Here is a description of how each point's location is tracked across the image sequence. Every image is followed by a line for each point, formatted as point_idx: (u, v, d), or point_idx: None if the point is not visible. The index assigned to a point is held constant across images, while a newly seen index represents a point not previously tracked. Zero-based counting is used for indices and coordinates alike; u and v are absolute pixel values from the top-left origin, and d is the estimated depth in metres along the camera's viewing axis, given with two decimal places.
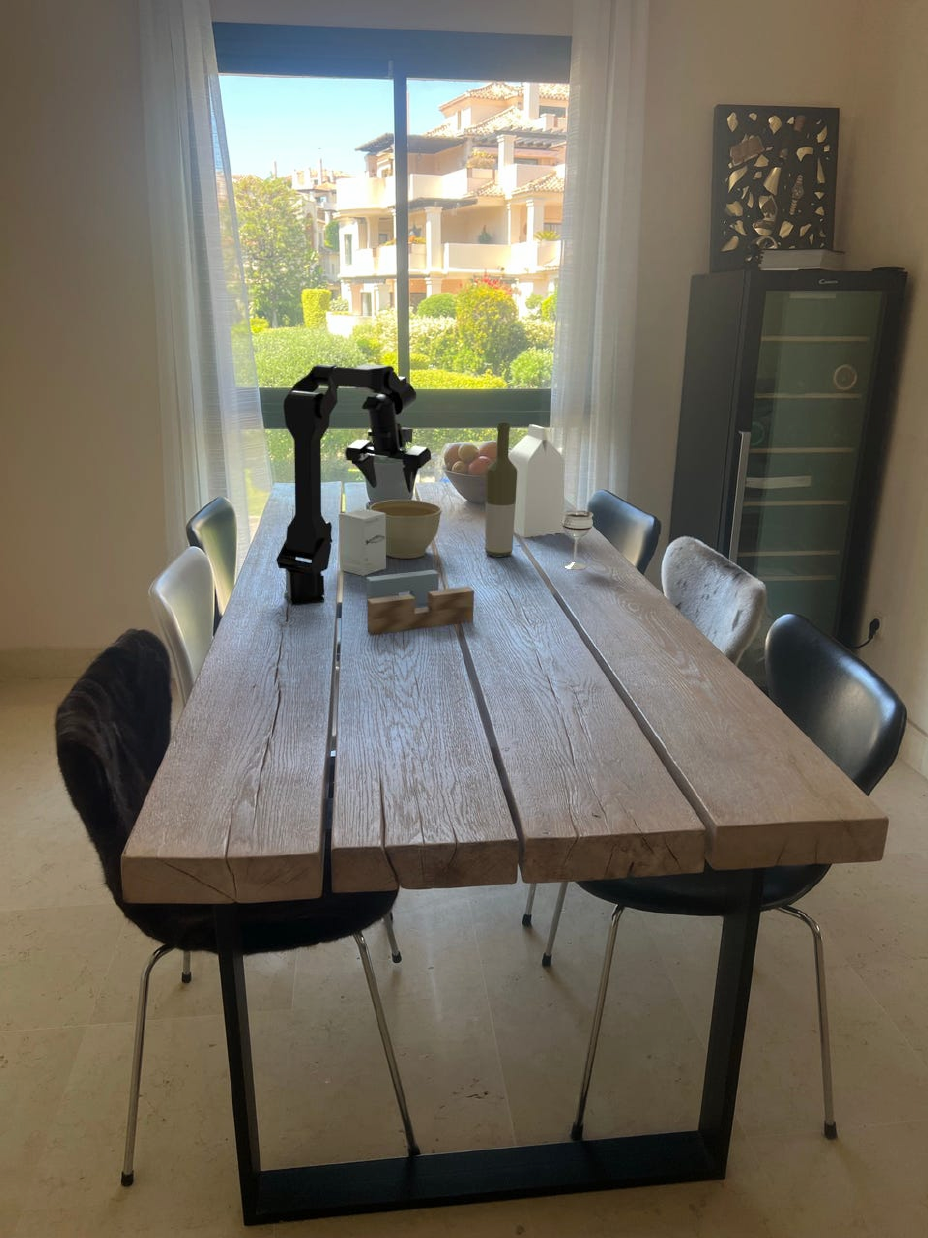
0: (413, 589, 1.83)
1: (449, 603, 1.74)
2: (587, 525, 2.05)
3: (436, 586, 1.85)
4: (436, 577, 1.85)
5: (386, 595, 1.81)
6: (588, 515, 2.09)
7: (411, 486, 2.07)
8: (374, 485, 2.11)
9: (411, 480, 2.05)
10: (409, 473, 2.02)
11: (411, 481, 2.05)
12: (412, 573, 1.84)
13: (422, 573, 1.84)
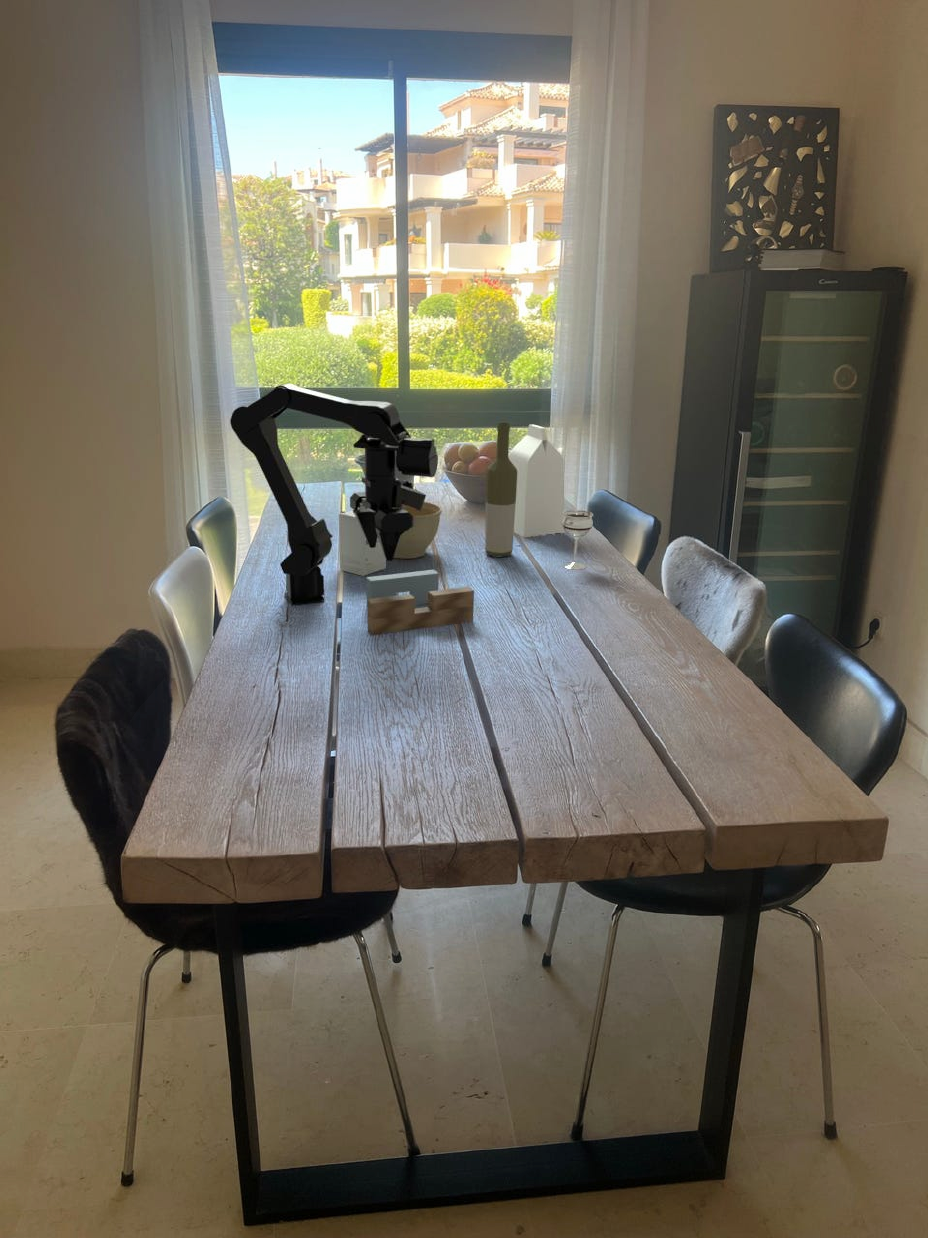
0: (413, 589, 1.83)
1: (449, 603, 1.74)
2: (587, 525, 2.05)
3: (436, 586, 1.85)
4: (436, 577, 1.85)
5: (386, 595, 1.81)
6: (588, 515, 2.09)
7: (387, 553, 1.74)
8: (371, 545, 1.83)
9: (386, 545, 1.73)
10: (379, 534, 1.71)
11: (386, 547, 1.73)
12: (412, 573, 1.84)
13: (422, 573, 1.84)
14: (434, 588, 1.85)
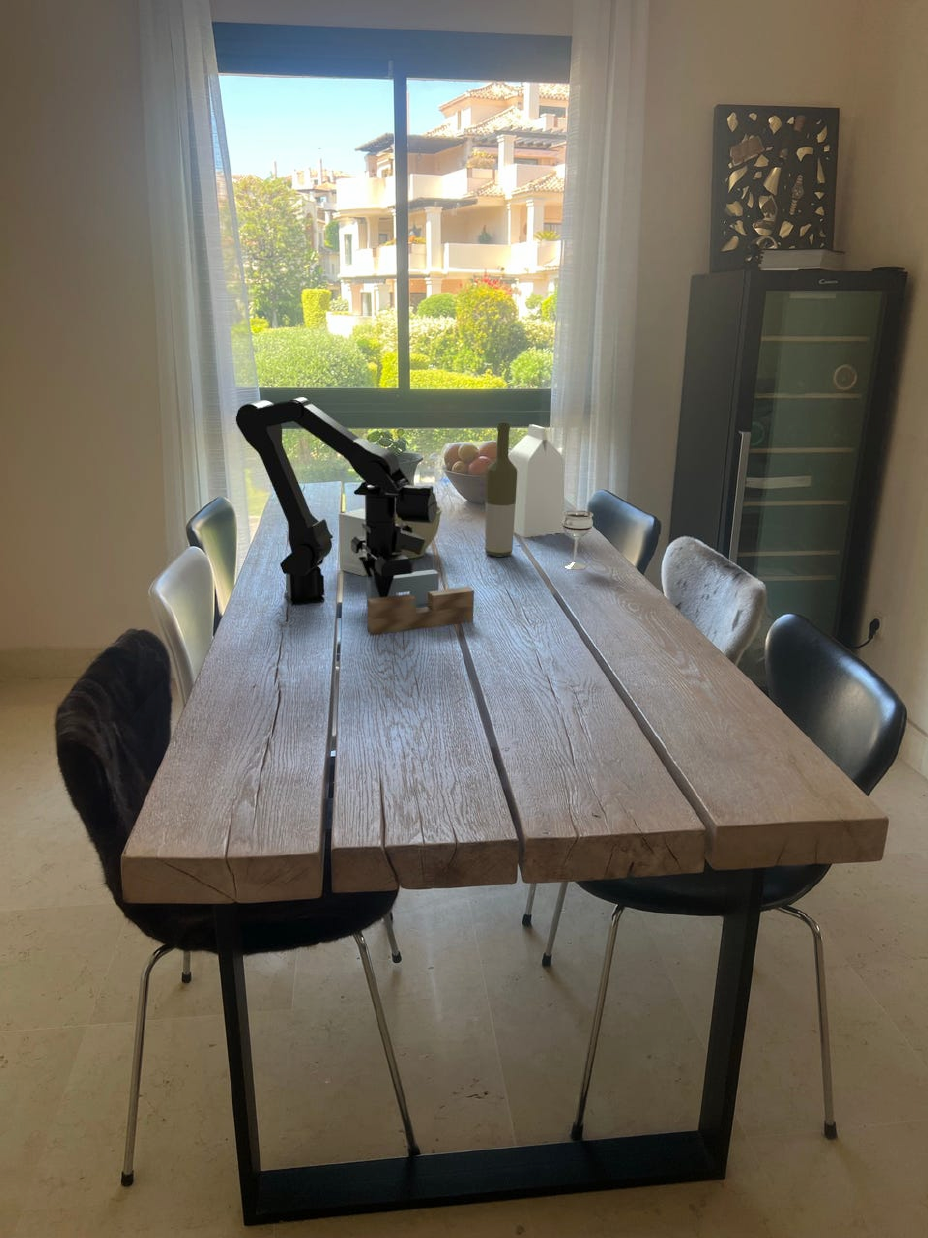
0: (413, 589, 1.83)
1: (449, 603, 1.74)
2: (587, 525, 2.05)
3: (436, 586, 1.85)
4: (436, 577, 1.85)
5: None
6: (588, 515, 2.09)
7: (382, 593, 1.80)
8: None
9: (380, 585, 1.79)
10: (373, 575, 1.76)
11: (380, 586, 1.79)
12: (412, 573, 1.84)
13: (422, 573, 1.84)
14: (434, 588, 1.85)
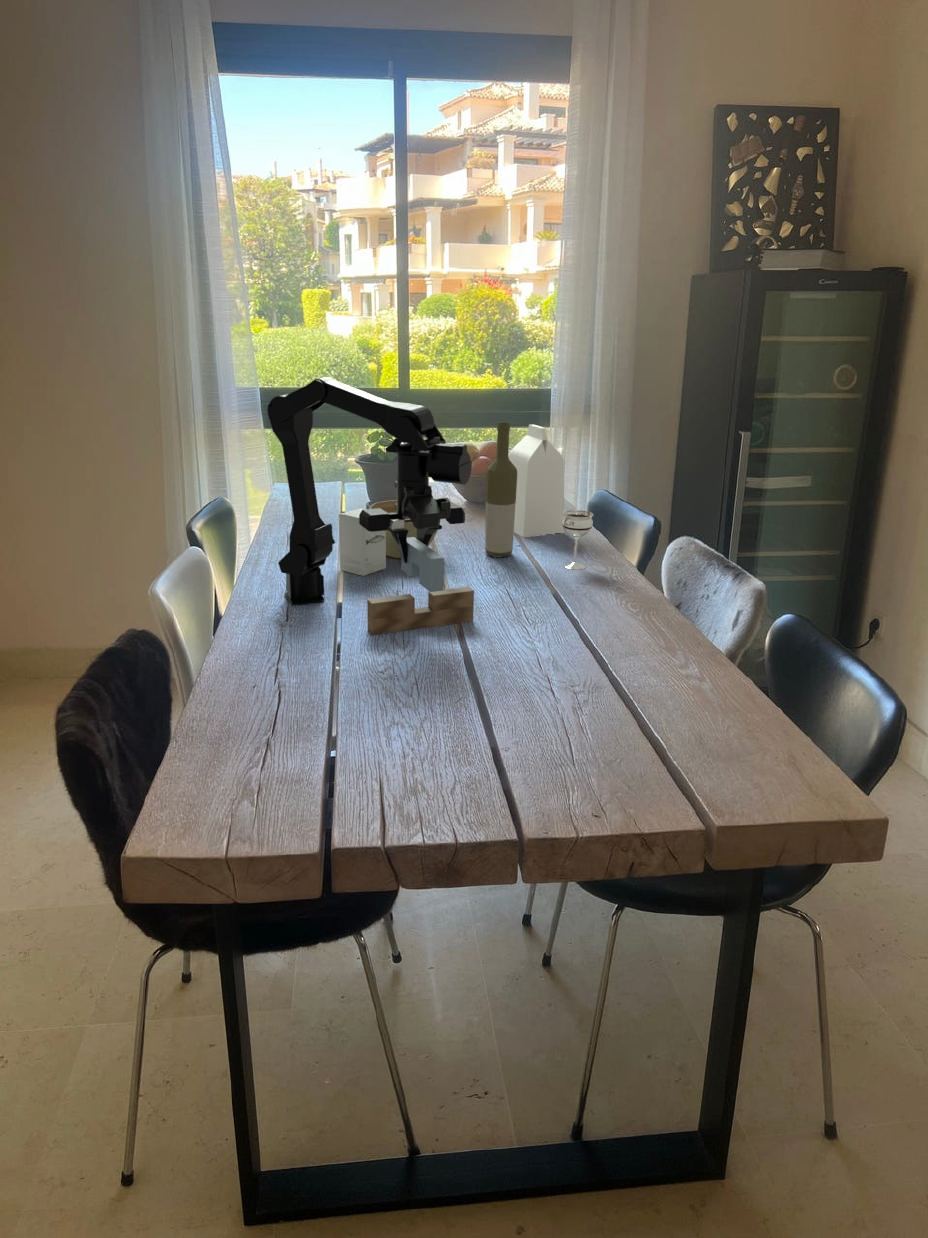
0: (419, 565, 1.68)
1: (449, 603, 1.74)
2: (587, 525, 2.05)
3: (429, 573, 1.64)
4: (429, 563, 1.63)
5: (407, 560, 1.73)
6: (588, 515, 2.09)
7: (400, 553, 1.73)
8: None
9: (397, 544, 1.73)
10: None
11: (397, 545, 1.73)
12: (428, 550, 1.67)
13: (430, 553, 1.66)
14: (428, 574, 1.64)
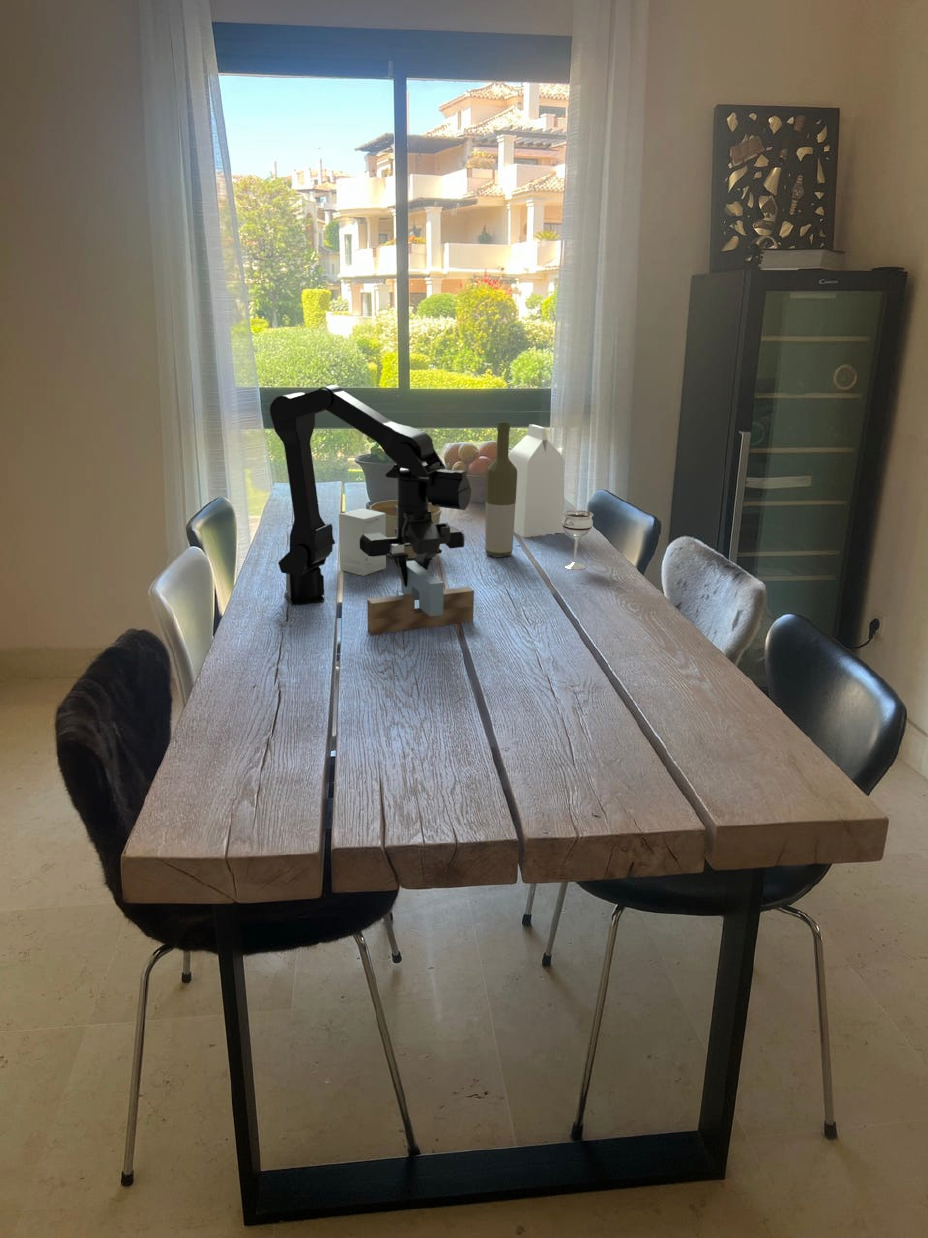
0: (418, 589, 1.70)
1: (449, 603, 1.74)
2: (587, 525, 2.05)
3: (429, 598, 1.65)
4: (429, 588, 1.65)
5: (407, 583, 1.74)
6: (588, 515, 2.09)
7: (400, 577, 1.75)
8: None
9: (397, 567, 1.75)
10: None
11: (397, 569, 1.75)
12: (428, 575, 1.69)
13: (429, 578, 1.67)
14: (428, 599, 1.66)
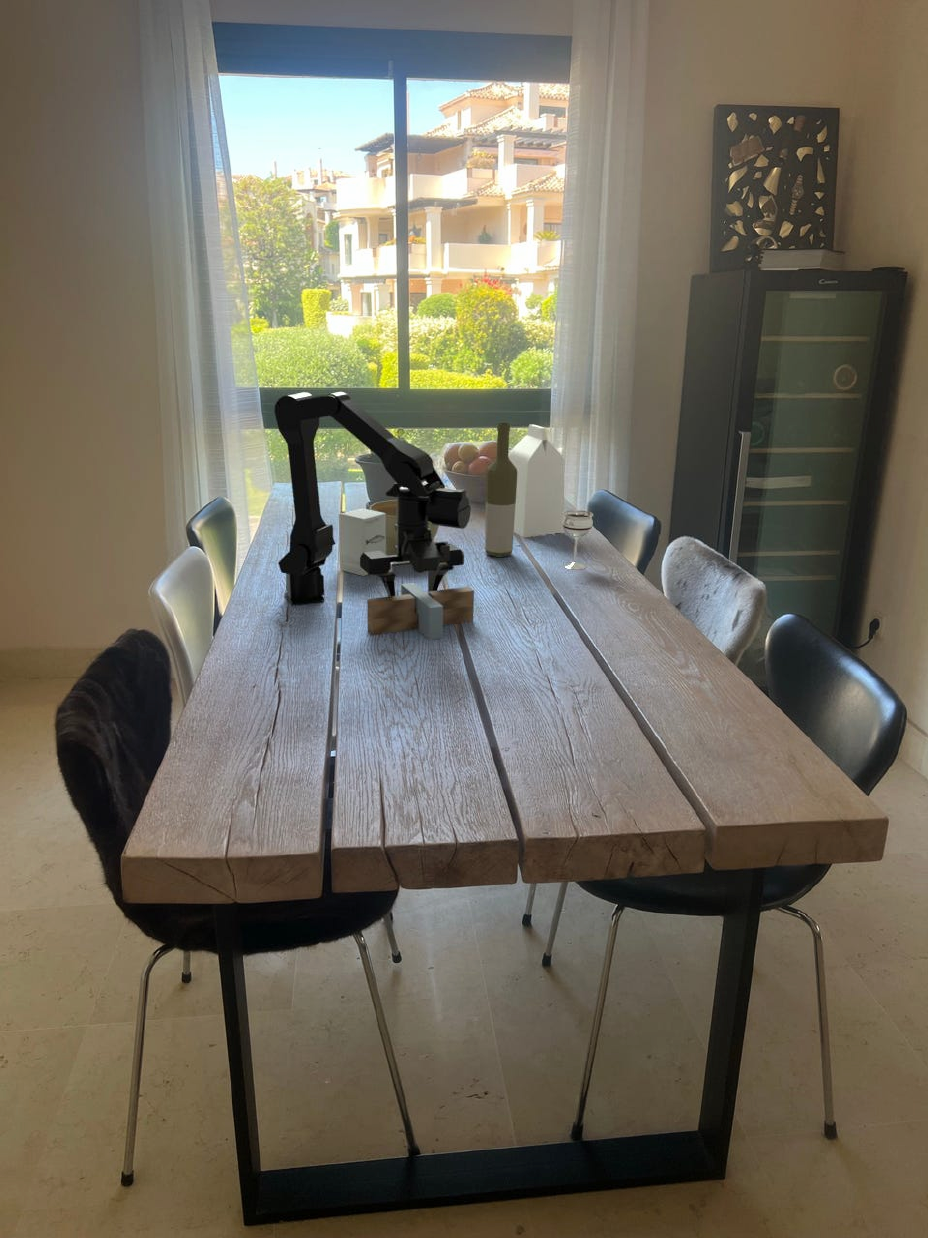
0: (418, 612, 1.71)
1: (449, 603, 1.74)
2: (587, 525, 2.05)
3: (428, 621, 1.67)
4: (428, 611, 1.66)
5: None
6: (588, 515, 2.09)
7: (388, 596, 1.75)
8: None
9: (385, 586, 1.75)
10: None
11: (385, 588, 1.75)
12: (427, 598, 1.70)
13: (429, 601, 1.69)
14: (427, 622, 1.67)
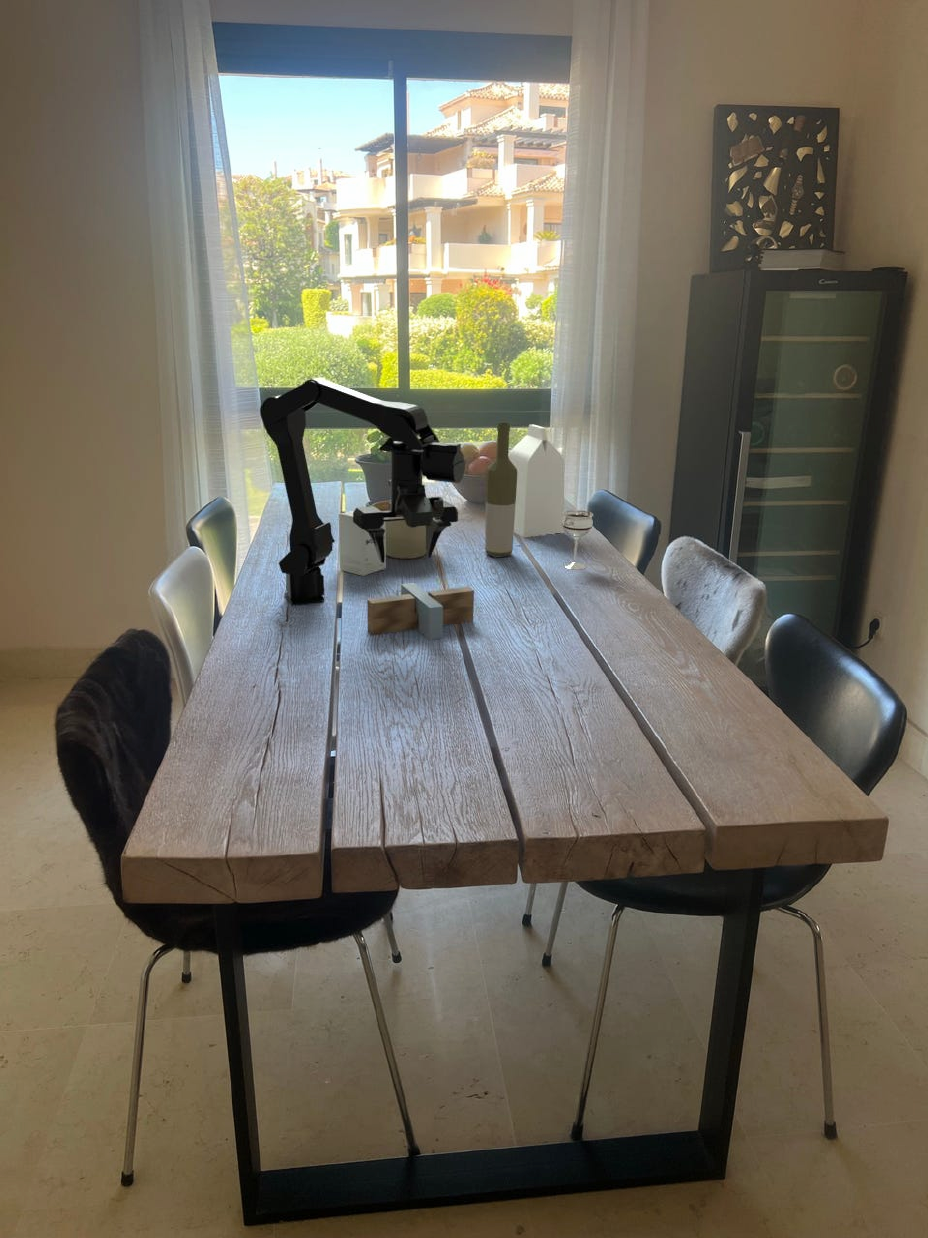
0: (418, 612, 1.71)
1: (449, 603, 1.74)
2: (587, 525, 2.05)
3: (428, 621, 1.67)
4: (428, 611, 1.66)
5: None
6: (588, 515, 2.09)
7: (377, 553, 1.73)
8: (426, 554, 1.77)
9: (374, 543, 1.73)
10: None
11: (374, 545, 1.73)
12: (427, 598, 1.70)
13: (429, 601, 1.69)
14: (427, 622, 1.67)
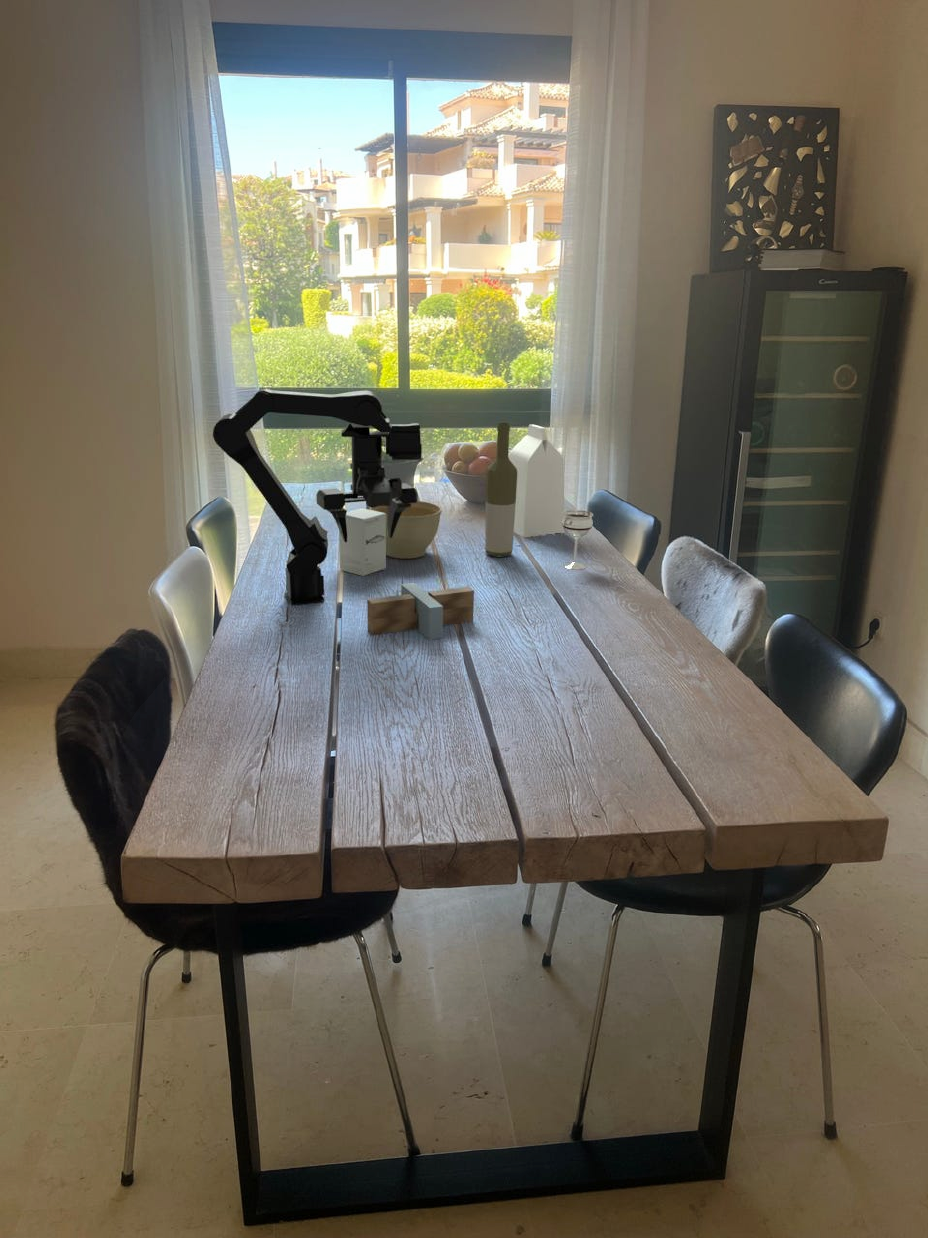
0: (418, 612, 1.71)
1: (449, 603, 1.74)
2: (587, 525, 2.05)
3: (428, 621, 1.67)
4: (428, 611, 1.66)
5: None
6: (588, 515, 2.09)
7: (341, 533, 1.82)
8: (388, 534, 1.86)
9: (337, 524, 1.81)
10: None
11: (338, 525, 1.81)
12: (427, 598, 1.70)
13: (429, 601, 1.69)
14: (427, 622, 1.67)
